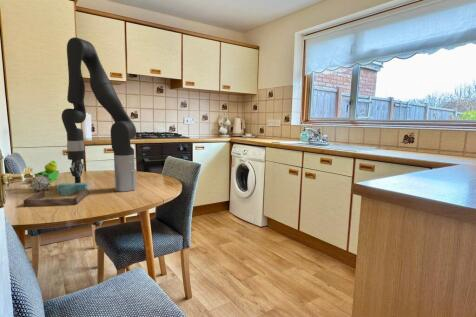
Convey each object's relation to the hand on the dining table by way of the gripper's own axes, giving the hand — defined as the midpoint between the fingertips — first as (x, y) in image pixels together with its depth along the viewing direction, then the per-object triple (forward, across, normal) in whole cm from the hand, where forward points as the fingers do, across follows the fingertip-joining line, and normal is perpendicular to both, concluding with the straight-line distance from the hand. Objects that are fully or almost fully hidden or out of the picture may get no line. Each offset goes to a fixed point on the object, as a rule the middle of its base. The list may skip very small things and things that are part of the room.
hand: (78, 183), depth 144 cm
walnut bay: (+2, -24, 0) cm, 24 cm away
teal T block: (+2, -10, 0) cm, 11 cm away
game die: (+2, -7, +14) cm, 16 cm away
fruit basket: (+2, +14, +19) cm, 24 cm away
